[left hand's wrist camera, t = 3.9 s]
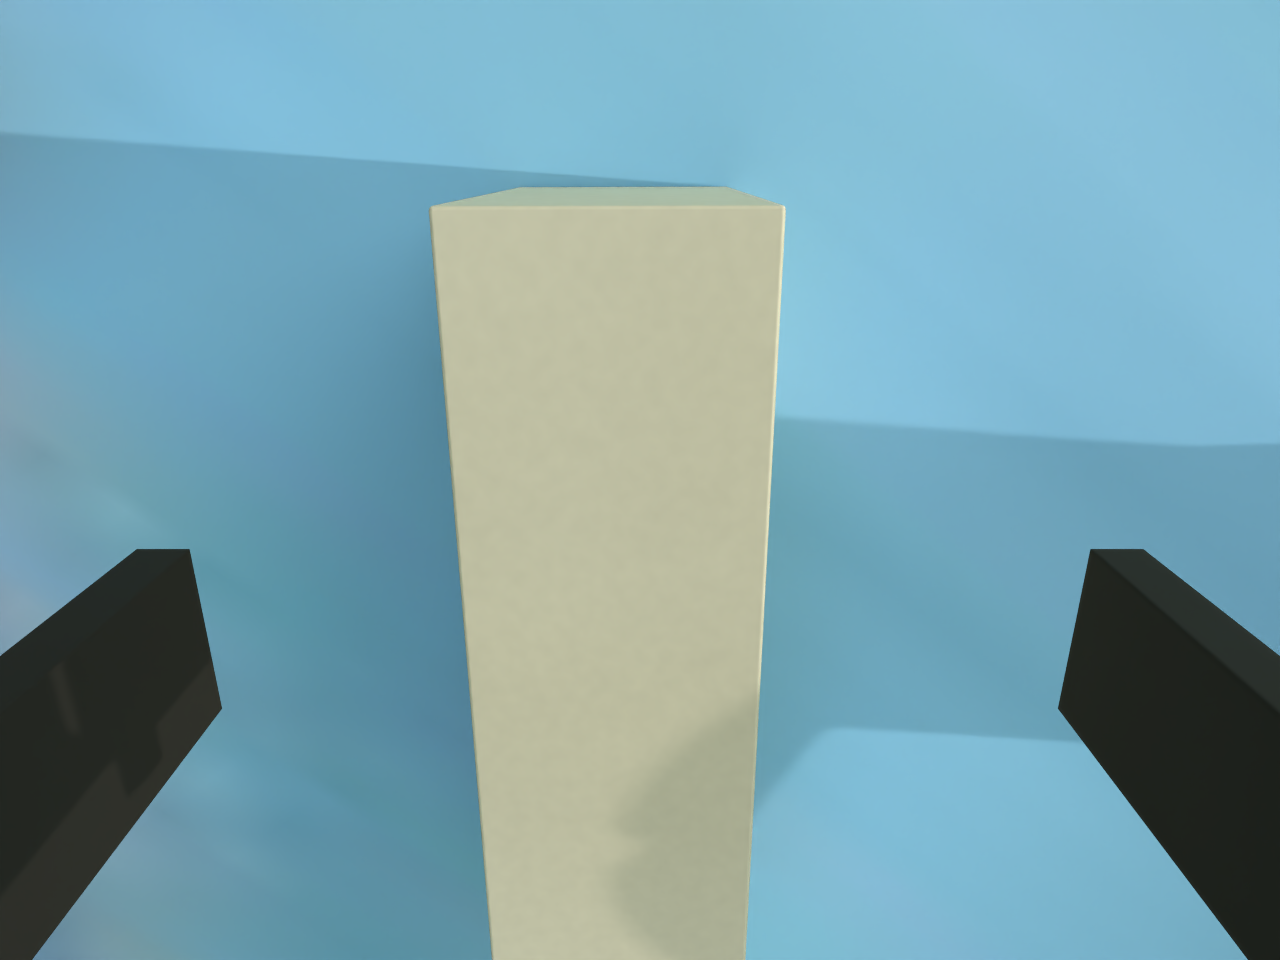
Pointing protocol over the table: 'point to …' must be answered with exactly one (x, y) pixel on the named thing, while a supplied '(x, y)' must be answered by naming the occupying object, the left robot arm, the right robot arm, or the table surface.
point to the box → (612, 553)
